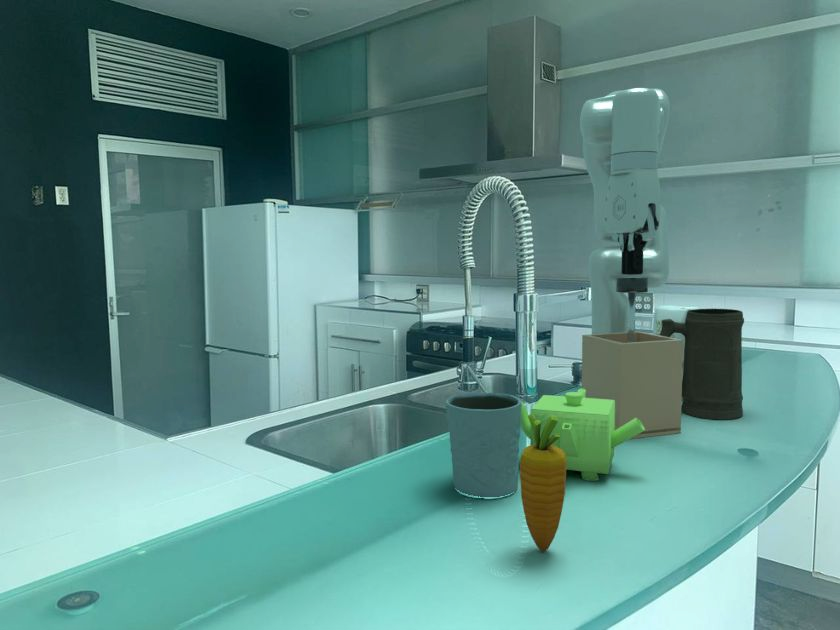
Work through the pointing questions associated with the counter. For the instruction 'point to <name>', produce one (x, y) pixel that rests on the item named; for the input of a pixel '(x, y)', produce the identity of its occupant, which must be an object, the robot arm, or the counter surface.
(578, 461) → the kettle
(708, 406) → the beer stein
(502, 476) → the gray cup
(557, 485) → the carrot
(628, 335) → the plunger
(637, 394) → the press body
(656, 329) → the juice carton
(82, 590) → the counter surface
